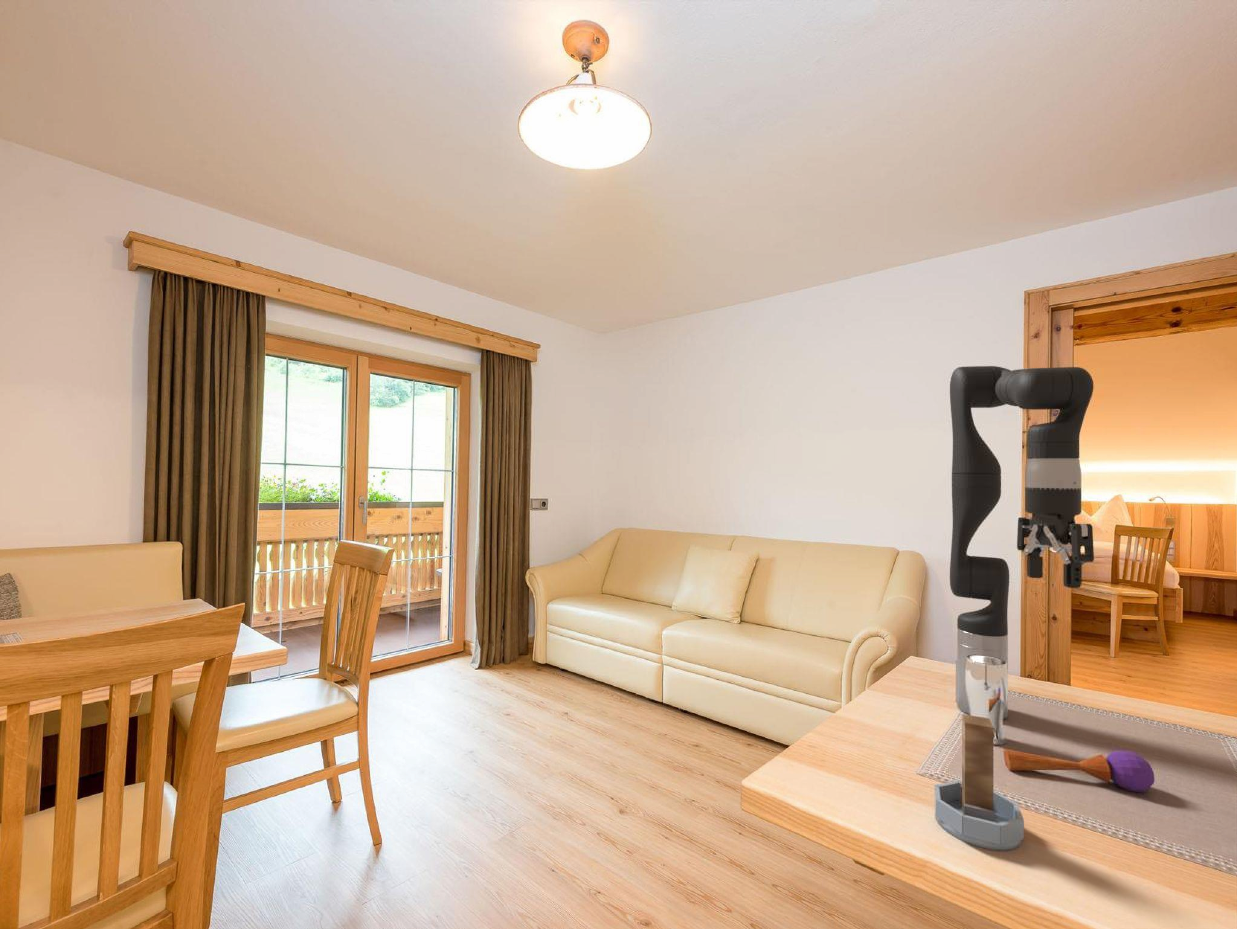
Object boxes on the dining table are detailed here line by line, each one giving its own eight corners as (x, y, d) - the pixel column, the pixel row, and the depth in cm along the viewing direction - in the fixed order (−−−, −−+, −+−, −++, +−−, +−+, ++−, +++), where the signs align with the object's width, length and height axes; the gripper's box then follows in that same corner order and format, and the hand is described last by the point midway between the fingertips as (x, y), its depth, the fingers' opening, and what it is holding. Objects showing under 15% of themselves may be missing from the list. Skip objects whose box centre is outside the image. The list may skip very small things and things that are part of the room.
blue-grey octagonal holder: (936, 835, 78) (937, 806, 78) (933, 798, 87) (933, 772, 87) (1028, 860, 73) (1028, 828, 73) (1014, 817, 82) (1014, 790, 83)
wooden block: (964, 822, 79) (964, 722, 80) (962, 810, 82) (962, 713, 83) (993, 829, 78) (993, 727, 78) (989, 816, 81) (989, 718, 81)
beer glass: (969, 742, 107) (969, 662, 107) (961, 727, 113) (962, 652, 113) (1012, 749, 104) (1012, 667, 104) (1002, 733, 110) (1002, 656, 111)
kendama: (999, 737, 101) (1138, 748, 94) (1004, 773, 99) (1146, 787, 93) (1009, 745, 95) (1158, 757, 88) (1014, 783, 94) (1166, 799, 87)
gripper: (1110, 487, 87) (1111, 591, 87) (1045, 485, 101) (1045, 575, 101) (1061, 486, 88) (1061, 590, 87) (1002, 484, 102) (1002, 574, 102)
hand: (1052, 582), depth 94 cm, fingers open, 8 cm apart
